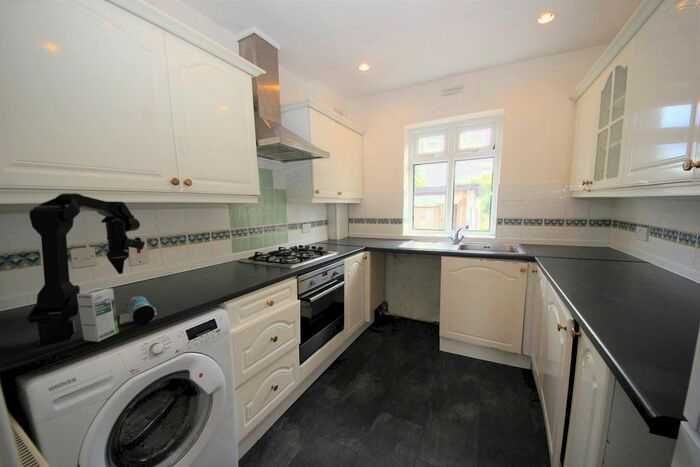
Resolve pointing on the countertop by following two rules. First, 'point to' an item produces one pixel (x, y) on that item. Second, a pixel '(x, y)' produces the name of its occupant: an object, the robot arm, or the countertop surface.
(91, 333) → the syrup box
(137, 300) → the teal labeled canister
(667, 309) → the countertop surface
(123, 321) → the mat
